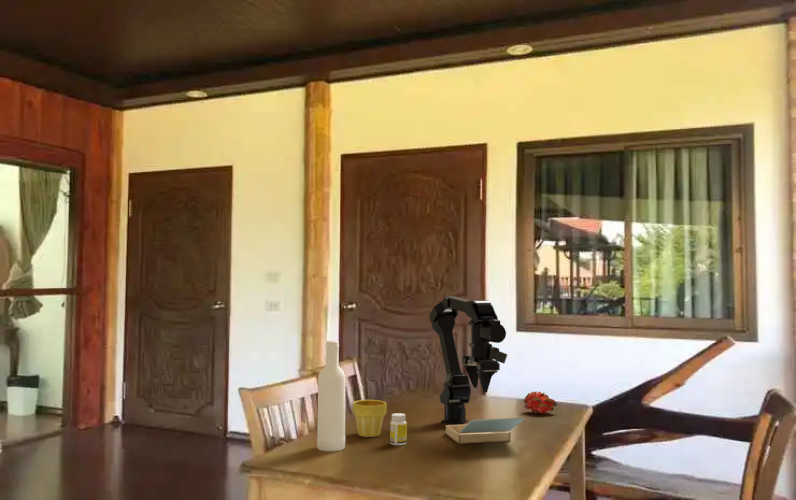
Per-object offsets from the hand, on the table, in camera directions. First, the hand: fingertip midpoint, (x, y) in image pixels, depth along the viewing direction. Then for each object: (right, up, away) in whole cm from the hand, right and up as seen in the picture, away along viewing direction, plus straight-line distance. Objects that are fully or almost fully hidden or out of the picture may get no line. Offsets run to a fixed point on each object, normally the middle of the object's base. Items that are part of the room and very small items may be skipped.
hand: (480, 390), depth 206 cm
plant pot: (-35, -13, -5) cm, 37 cm away
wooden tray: (-2, -13, -8) cm, 15 cm away
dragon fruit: (+25, -15, +29) cm, 41 cm away
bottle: (-45, -12, -22) cm, 51 cm away
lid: (+1, -6, -19) cm, 20 cm away
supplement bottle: (-26, -12, -16) cm, 33 cm away
